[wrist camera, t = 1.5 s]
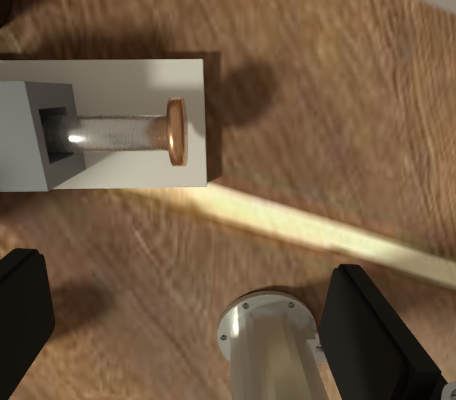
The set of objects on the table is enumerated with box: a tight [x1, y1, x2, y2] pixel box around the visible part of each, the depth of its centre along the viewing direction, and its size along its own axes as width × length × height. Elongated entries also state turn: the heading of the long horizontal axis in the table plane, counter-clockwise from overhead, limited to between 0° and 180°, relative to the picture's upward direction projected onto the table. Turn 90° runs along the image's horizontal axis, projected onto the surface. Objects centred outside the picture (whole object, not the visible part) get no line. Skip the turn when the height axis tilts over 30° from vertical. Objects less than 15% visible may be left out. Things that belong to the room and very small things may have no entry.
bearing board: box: [0, 59, 207, 192], centre depth 26 cm, size 27×12×9 cm, turn 90°
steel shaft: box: [40, 98, 188, 166], centre depth 25 cm, size 14×6×6 cm, turn 90°
